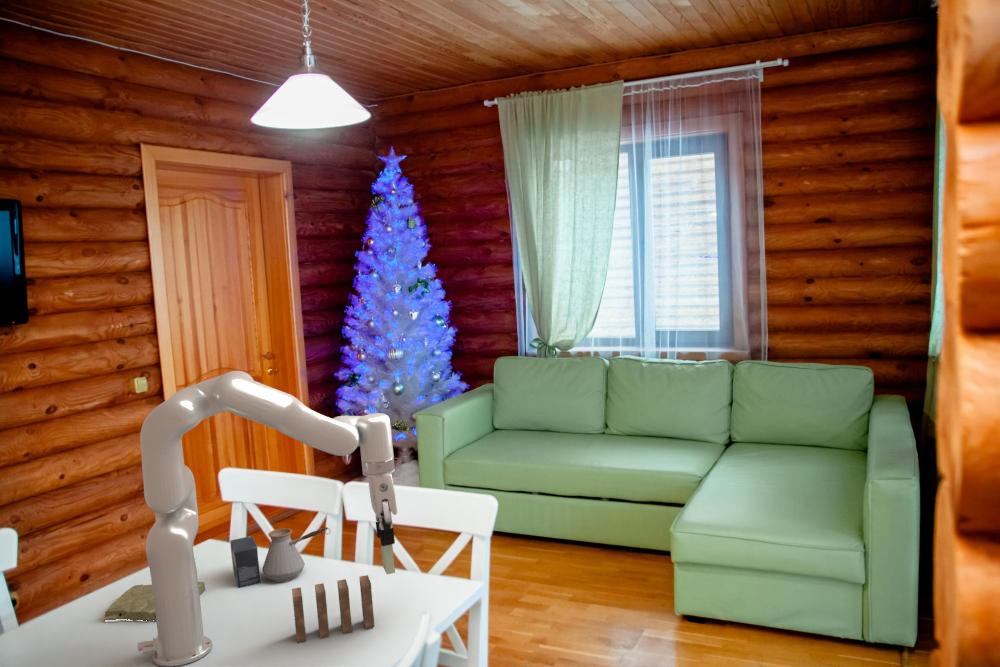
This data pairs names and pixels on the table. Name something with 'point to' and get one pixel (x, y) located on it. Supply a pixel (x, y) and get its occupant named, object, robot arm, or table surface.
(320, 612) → the domino
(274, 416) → the robot arm
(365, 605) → the domino
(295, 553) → the coffee pot
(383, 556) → the domino
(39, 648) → the table surface
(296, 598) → the domino
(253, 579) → the small box
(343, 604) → the domino
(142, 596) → the decorative tile
